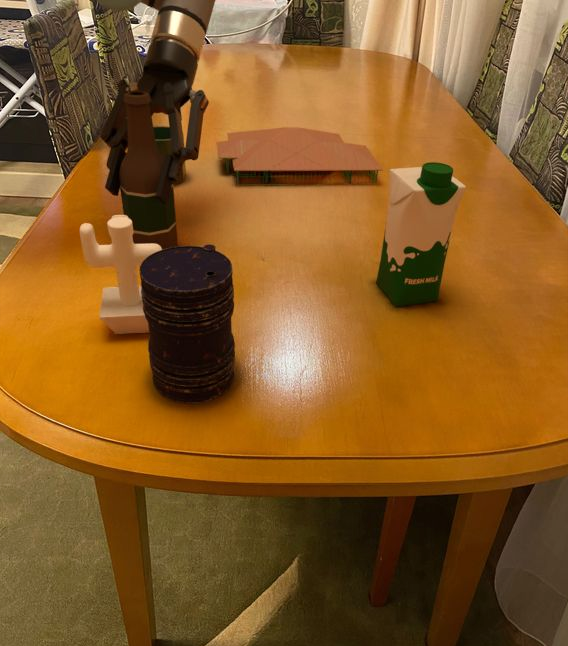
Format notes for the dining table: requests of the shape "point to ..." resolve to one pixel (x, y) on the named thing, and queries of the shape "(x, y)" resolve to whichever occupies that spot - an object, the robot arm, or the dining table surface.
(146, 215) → the beer bottle
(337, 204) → the dining table surface
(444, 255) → the milk carton
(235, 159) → the house
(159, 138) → the green mug
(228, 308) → the dark oil barrel
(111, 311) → the figurine
